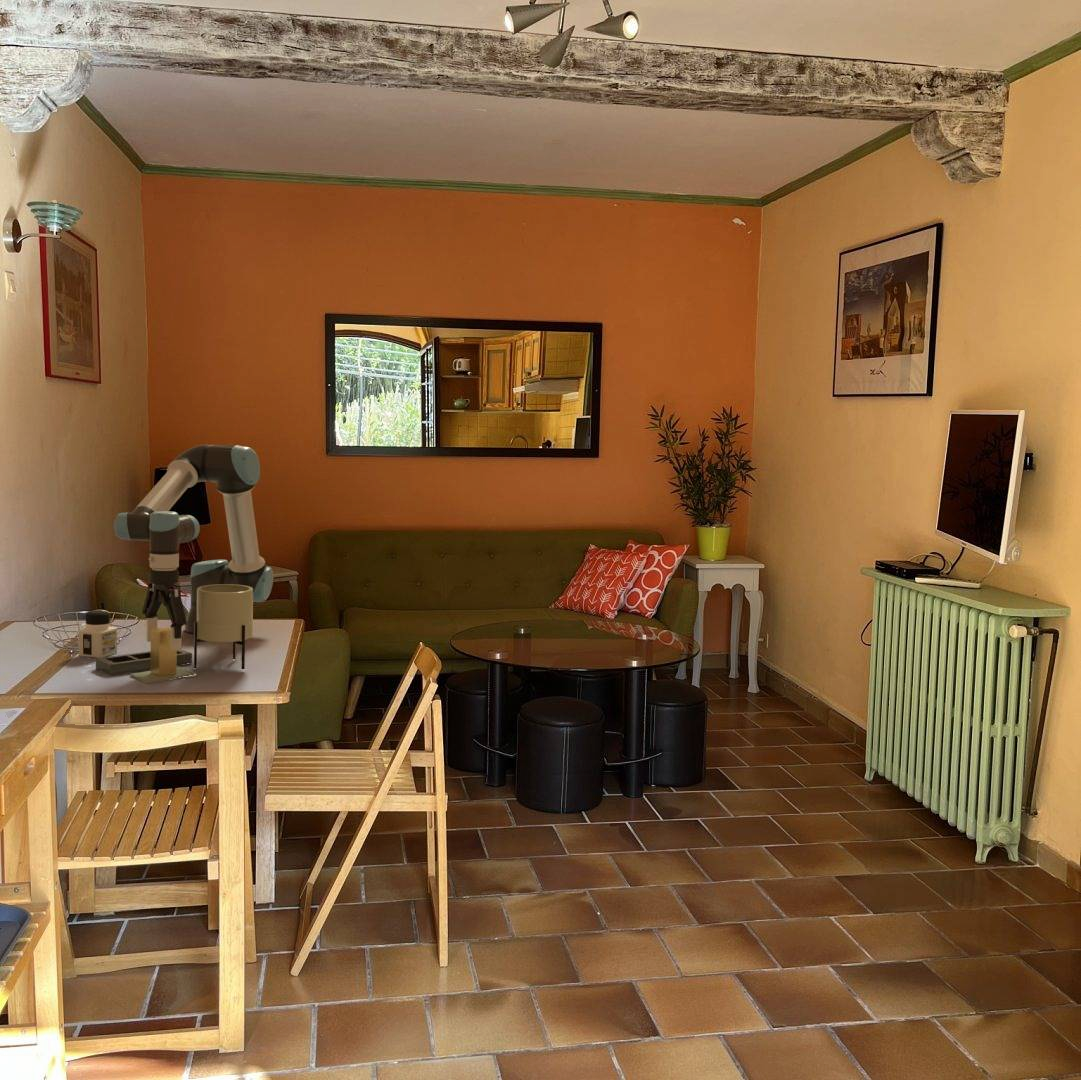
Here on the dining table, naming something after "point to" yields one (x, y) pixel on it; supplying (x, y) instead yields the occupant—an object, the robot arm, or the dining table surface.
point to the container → (97, 635)
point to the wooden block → (162, 653)
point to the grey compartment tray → (134, 662)
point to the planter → (224, 616)
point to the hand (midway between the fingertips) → (163, 645)
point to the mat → (153, 678)
